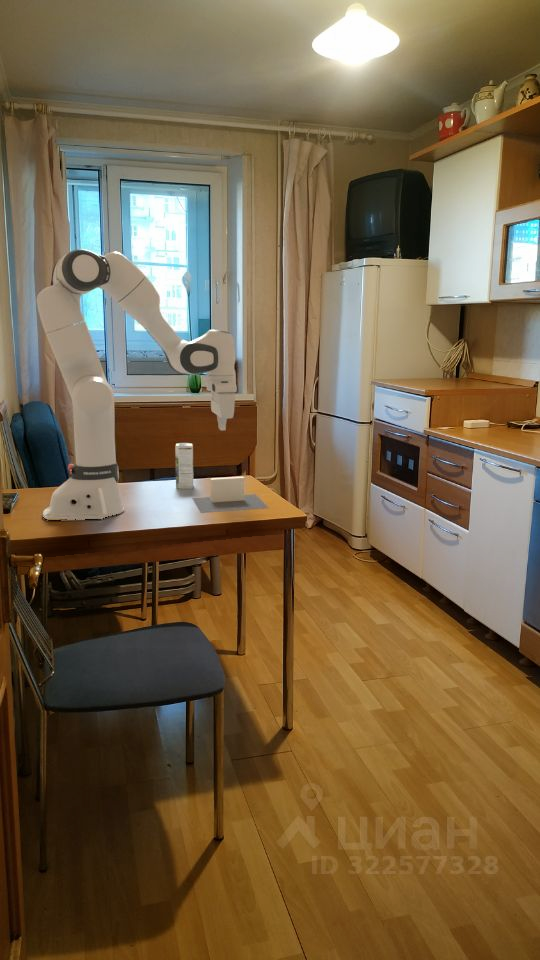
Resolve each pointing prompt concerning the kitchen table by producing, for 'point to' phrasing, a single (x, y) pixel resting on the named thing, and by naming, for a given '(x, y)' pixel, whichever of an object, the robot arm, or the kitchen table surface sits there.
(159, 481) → the kitchen table surface
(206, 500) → the mat
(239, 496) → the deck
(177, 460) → the syrup box
